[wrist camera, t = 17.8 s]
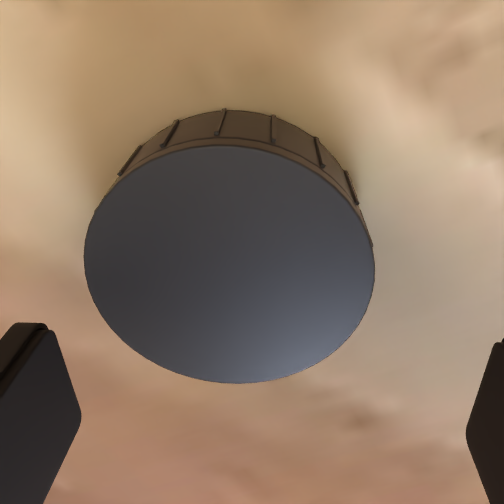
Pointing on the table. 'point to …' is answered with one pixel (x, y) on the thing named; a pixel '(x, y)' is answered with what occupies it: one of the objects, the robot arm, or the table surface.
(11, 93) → the table surface
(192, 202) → the cap
